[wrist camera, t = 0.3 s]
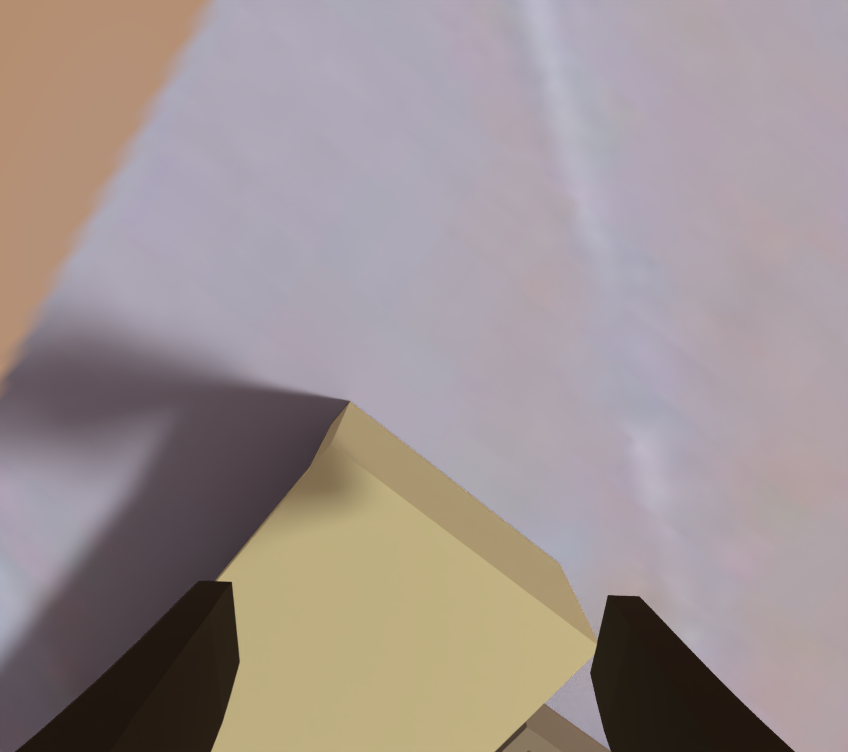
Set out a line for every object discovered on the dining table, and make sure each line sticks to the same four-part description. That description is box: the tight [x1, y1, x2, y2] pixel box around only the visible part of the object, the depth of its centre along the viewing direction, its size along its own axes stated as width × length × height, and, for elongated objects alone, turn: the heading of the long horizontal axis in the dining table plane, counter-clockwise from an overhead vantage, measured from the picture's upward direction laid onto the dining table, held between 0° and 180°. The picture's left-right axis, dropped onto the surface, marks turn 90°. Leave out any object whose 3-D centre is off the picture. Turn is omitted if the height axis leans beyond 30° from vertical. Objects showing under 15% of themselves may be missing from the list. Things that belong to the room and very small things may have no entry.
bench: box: [211, 401, 597, 752], centre depth 20 cm, size 20×11×5 cm, turn 140°
